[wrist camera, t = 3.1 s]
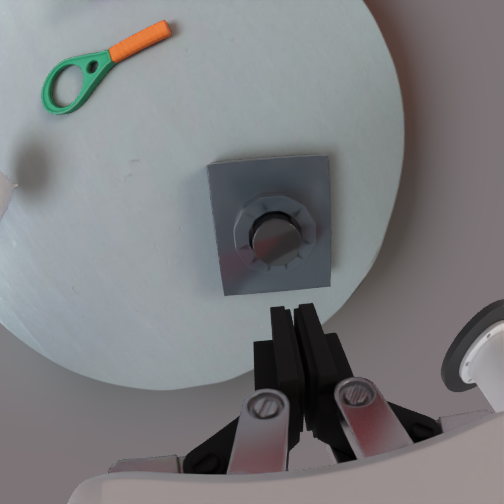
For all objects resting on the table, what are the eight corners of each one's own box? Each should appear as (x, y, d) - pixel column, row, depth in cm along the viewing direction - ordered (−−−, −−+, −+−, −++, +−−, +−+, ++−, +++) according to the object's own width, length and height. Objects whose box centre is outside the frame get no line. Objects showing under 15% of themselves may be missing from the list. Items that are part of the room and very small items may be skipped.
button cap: (296, 211, 23) (300, 218, 21) (298, 254, 25) (301, 264, 23) (250, 215, 23) (250, 222, 21) (254, 258, 25) (254, 268, 23)
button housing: (320, 153, 26) (334, 157, 21) (323, 273, 30) (335, 296, 26) (211, 162, 26) (202, 167, 22) (226, 281, 31) (222, 307, 26)
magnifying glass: (54, 125, 24) (45, 125, 23) (42, 81, 22) (33, 79, 21) (180, 54, 22) (175, 50, 21) (162, 9, 20) (157, 2, 19)
